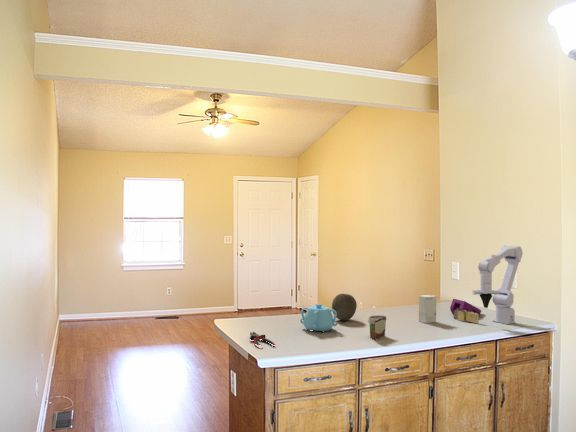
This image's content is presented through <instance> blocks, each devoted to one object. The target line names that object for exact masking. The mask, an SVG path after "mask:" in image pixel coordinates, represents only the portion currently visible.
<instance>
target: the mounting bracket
mask: <svg viewBox="0 0 576 432" xmlns="http://www.w3.org/2000/svg"><path fill="white" fill-rule="evenodd" d="M450 303H451V304H450V305H449V306H450V307H449V310H450V313H451V314H453V315H454V310H459V311H461V310H467V311H469V312H472V313H477V314H479V315H481V313H482V309H480V308H479V307H476V306H474V305H472V304H471V303H469V302H467V301H465V300H463V299H462V300H461V299H457V298H453V299H452V301H451V302H450Z"/></svg>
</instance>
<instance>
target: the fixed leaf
mask: <svg viewBox="0 0 576 432" xmlns="http://www.w3.org/2000/svg"><path fill="white" fill-rule="evenodd" d="M458 311H459V310H454V314H453V319H454V320H457V321H459V320H458ZM461 312H467V310H461Z"/></svg>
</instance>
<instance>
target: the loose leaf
mask: <svg viewBox="0 0 576 432" xmlns="http://www.w3.org/2000/svg"><path fill="white" fill-rule="evenodd" d="M479 315H480V314H477V313H473V312H469V311H467V312H461V311H458V320H457V321H461V322H468V323H469V322H470V323H474V324H479Z"/></svg>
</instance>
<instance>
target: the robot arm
mask: <svg viewBox="0 0 576 432" xmlns="http://www.w3.org/2000/svg"><path fill="white" fill-rule="evenodd" d="M523 254H524V252H523V249H522V247H521V246H519V245H517V246H514V245H513V246H512V245H503V246H502V247H501V249H500V250H499V252H497V253H496V254H491V255H490V256H488V258H486V259H485V260H481V261H480V262H479V263H478V266H477V269H478V271H479V274H480V280H479V281H480V282H479V283H480V285H479V286H480V288H479V289H477V290H472V292H471V293H472V295H474V296H475V295H479V298H480V299H481V302H482V304H483V308H485V309H488V307H489V304H490V301H492V303H493V305H494V306H495V319H492V322H495V323H500V324H505V325H511V324H514V322H515V323H516V321H515V319H516V318H515V315H516V314H515V309H514V308H513V307H512V306H513V305H514V296H515V294H514V293H513V292H512V291H511V289H512V287H513V283H514V280H515V277H516V273H517V270H518V266H519V263H521V260H522V256H523ZM503 259H504V261H506V262H507V266H506V269H505V273H504V275H503V276H504V277H503V279H502V283H501V286H500V288H498V289H497V290H492V285H493V284H492V281H493V280H492V279H493V276H492V275H493V272H494V270H495V268H496V266H498V265H499V264H501V260H503Z"/></svg>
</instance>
